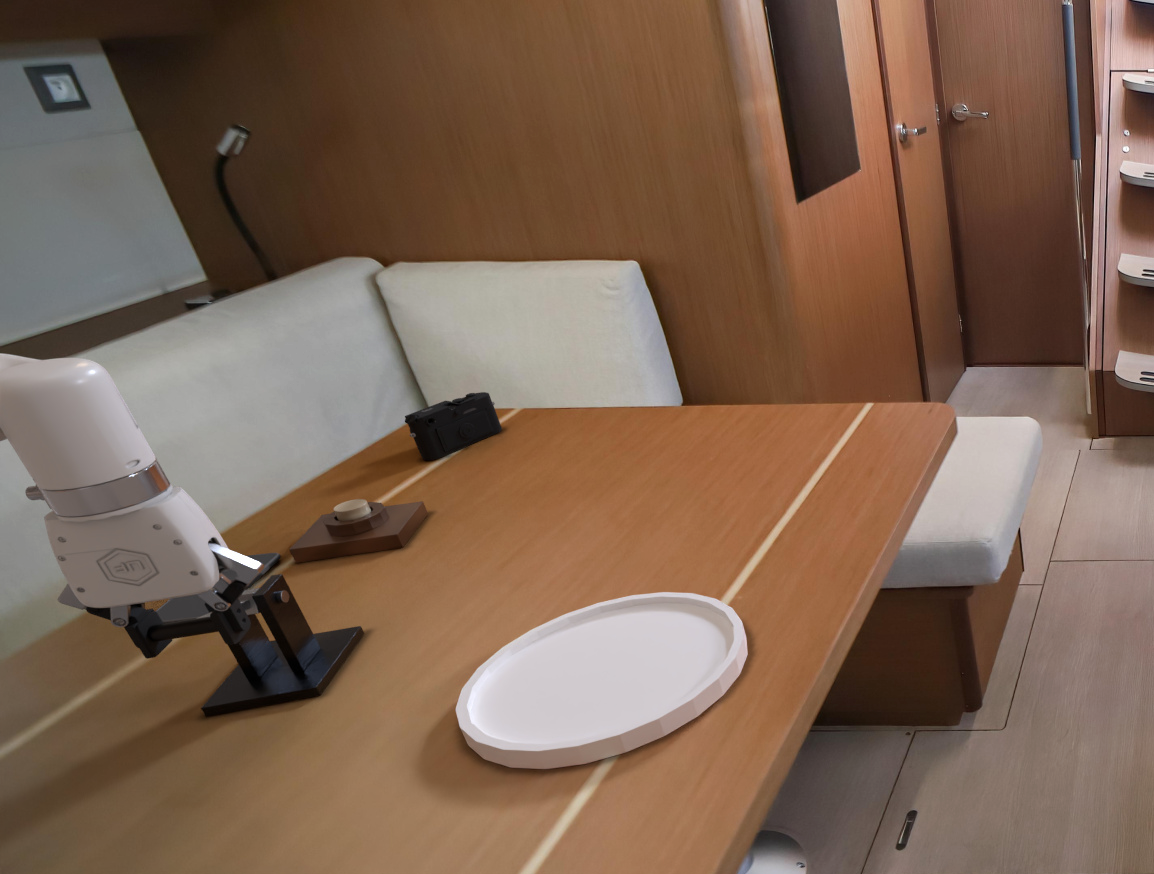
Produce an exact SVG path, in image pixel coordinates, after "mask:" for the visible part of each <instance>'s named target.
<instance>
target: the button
mask: <svg viewBox="0 0 1154 874" xmlns="http://www.w3.org/2000/svg"><path fill="white" fill-rule="evenodd" d="M367 502H368V501H367V500H366V499H365V498H364V499H362V498H356V499H351V500H350V499H349V500H347V501H343V502H341V503H339V504H337V505H336V506H334V507H333V509H332V510H333V512H335V514H336V517H337V519H338V520H339V521H347V520H354V519H357V518H361V517H363V516H365V515H367V514H369V513H371V509H370V507H369V505H368V503H367Z"/></svg>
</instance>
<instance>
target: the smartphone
mask: <svg viewBox="0 0 1154 874" xmlns="http://www.w3.org/2000/svg"><path fill="white" fill-rule="evenodd" d="M245 556H246V557H249V558H251V559H253V560H256V561H258V562H261V563H262V564H264V569H263V570H262V571H261V572H260V573H259V574H258V575H257V577H256V578H255V579H254V580H253V581H252V582H251V583H250V584H249V586H248V587H247V588H246V589H245V590H249V589H250V587H251V586H252V585H253V584H254V583H256V582H257V581H258V580H259V579H260V578H261V577H262V576H264V575H265V574H266V573H267V572H268V571H269V570H270V569H271V568H272V567H274V566H275V564H276V563H278V561H280V560H281V559H282V556H281V553H278V552H267V553H259V554H258V553H256V554H248V555H245ZM222 574H223V575H225V576H226V577H227V578H228V579H229V580H231V581H233V580H234V579H235V578H236V576H237V574H236V573H235V572H234V571H231V570H228V571H225V572H222ZM213 588H214V587H213ZM214 589H215V588H214ZM215 590H217V589H215ZM217 591H218V590H217ZM205 603H206V602H205V601H203V600H202V599H201V598H200V597H198V596H197V595H196V594H195V595H189V596H183V597H177V598H171V599H167V601H166V602H165V603H163V604H162V605H161V606H160V607H158V608H157V609H156V610H155V611H156V612H157V613H158V615H159V617H160V618H161V620H162V622H163V623H164V624H165V623H171V622H178V621H184V620H190V619H196V618H198V617H201V616H203V615H206V614H208V613H209V612H208V610H207V608H206V606H205V605H204V604H205Z"/></svg>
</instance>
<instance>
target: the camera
mask: <svg viewBox="0 0 1154 874" xmlns="http://www.w3.org/2000/svg"><path fill="white" fill-rule="evenodd" d="M404 418H405V419H404V423H405V424H406V425H408V428H409V432H410V434H409V437H410V438H413V441H414V442H415V445H416V448H417V450H418V452H419V456H420V458H421V459H422V460H424V461H436V460H439V459H441V458H443V457H446V456H448V455H450V454H452V453H455V452H457V451H459V450H461V449H464V448H467V447H469V446H471V445H473V444H475V443H478V442H481V441H483V440H485V439H487V438H489V437H492V436H494V435H496V434H499V433H500V432H502V430H503V428H502V425H501V422H500V419H499V416H498V414H497V411H496V408H495V402H494V401H492V398H491V395H490V393H489V392H485V391H481V392H469V393H467V394H465V396H463V397H458V398H454V399H452V400H443V401H440V402H438V403H436V404H433V405H430V406H427V407H425V408H422V409H420V410H417V411H414V412H412V413H409V414H406V415H404Z"/></svg>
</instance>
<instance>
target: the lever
mask: <svg viewBox="0 0 1154 874" xmlns="http://www.w3.org/2000/svg"><path fill="white" fill-rule="evenodd" d="M259 588H260V587H256V588H248V589H247V590H245V591H244V592H243V593H242V595H241V596H240V597H239V598H238V599H239V601H240V603H241V605H242V606H243V608H244V610H245V612H246V614H247V615H252V614H255V615H258V614H261V613H260V611H259V609H258V607H257V605H256V603H255V602H254V600H253V598H252V596H253V595H254V594H255V593H256V591H257V590H258V589H259ZM211 613H212V612H210V613H208V614H206V615H203V616H201V617H198V618H196V619H190V620H184V621H178V622H171V623H165V624H159V625H153V626H151V627H150V628H149V629H148V637H149V639H150V640H151V641H153V642H158V641H164V640H170V639H172V640H176V639H183V638H187V637H194V636H200V635H207V634H212V633H219V631H218V630H217V628H216V626H215V625H214V623H213V621H212V619H211V618H210V614H211Z"/></svg>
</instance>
